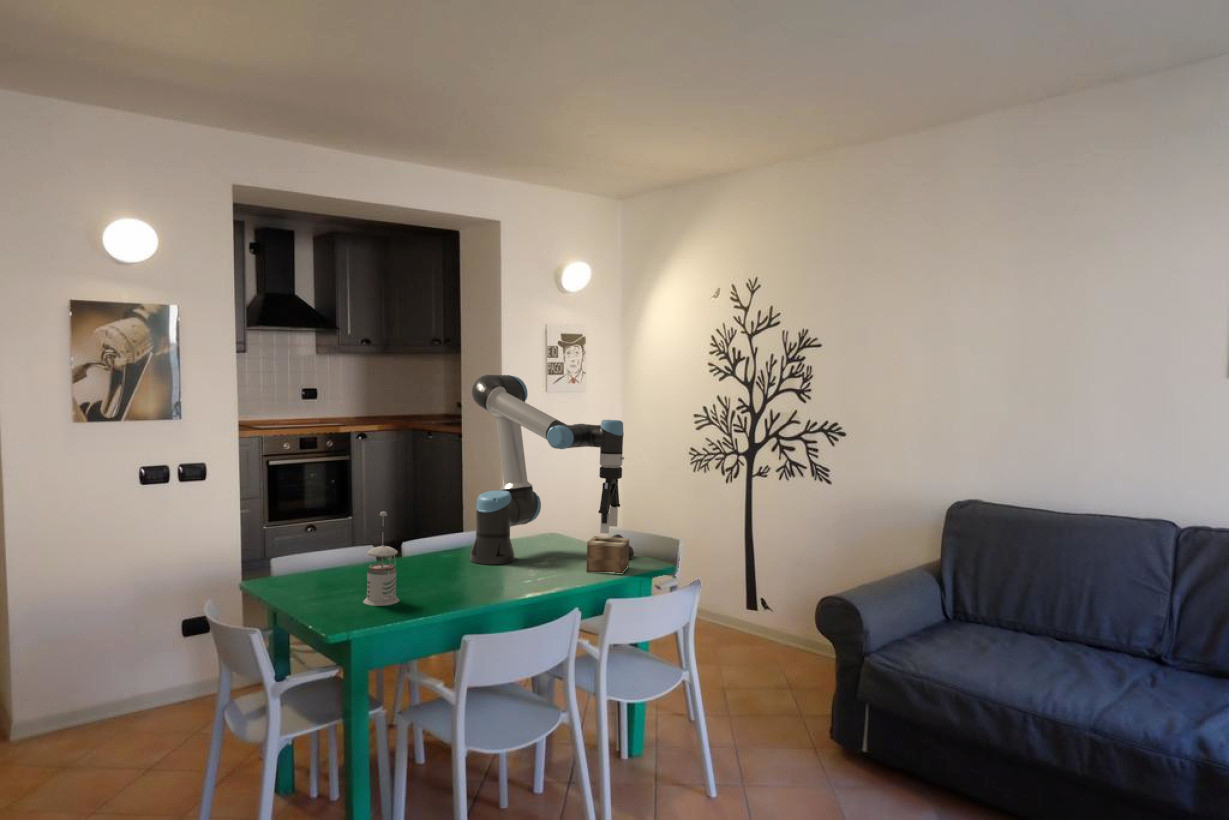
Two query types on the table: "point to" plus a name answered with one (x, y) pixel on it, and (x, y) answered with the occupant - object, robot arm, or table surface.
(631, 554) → the fossil
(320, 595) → the table surface
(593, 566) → the coin box
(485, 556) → the robot arm
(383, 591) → the french press
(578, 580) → the table surface
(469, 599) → the table surface
